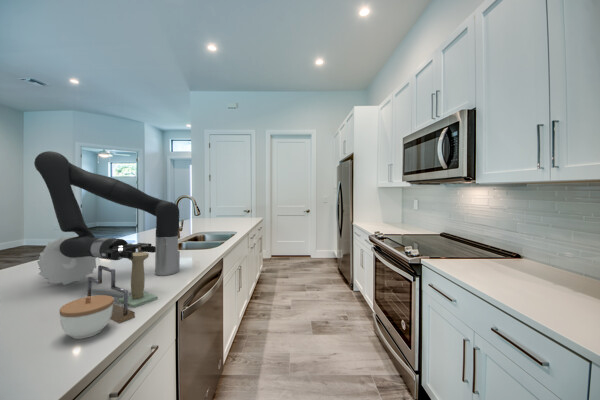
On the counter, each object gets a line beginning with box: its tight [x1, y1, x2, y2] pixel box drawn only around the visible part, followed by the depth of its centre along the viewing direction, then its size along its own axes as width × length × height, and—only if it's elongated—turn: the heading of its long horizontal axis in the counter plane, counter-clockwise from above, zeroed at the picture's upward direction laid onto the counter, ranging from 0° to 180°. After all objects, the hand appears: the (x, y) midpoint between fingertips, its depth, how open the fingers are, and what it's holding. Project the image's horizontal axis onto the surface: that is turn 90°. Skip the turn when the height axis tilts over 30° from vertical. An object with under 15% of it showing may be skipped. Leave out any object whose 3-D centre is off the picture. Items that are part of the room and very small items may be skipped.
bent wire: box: [86, 265, 136, 324], centre depth 76 cm, size 4×24×14 cm, turn 62°
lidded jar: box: [59, 294, 115, 340], centre depth 64 cm, size 11×11×9 cm
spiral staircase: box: [36, 235, 98, 286], centre depth 103 cm, size 18×18×25 cm
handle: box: [128, 251, 150, 299], centre depth 84 cm, size 5×6×15 cm
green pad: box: [117, 291, 158, 309], centre depth 84 cm, size 8×9×1 cm
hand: (143, 252), depth 83 cm, fingers open, 8 cm apart
